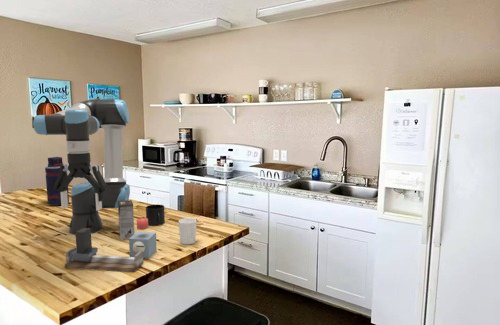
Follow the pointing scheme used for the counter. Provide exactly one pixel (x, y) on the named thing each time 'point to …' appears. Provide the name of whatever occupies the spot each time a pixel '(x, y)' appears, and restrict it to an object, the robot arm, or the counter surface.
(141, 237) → the pale blue block
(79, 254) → the carriage
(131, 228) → the coffee box
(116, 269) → the rail
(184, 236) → the white cup
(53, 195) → the striped navy bottle
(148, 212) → the mug
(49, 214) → the counter surface
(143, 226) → the plunger
